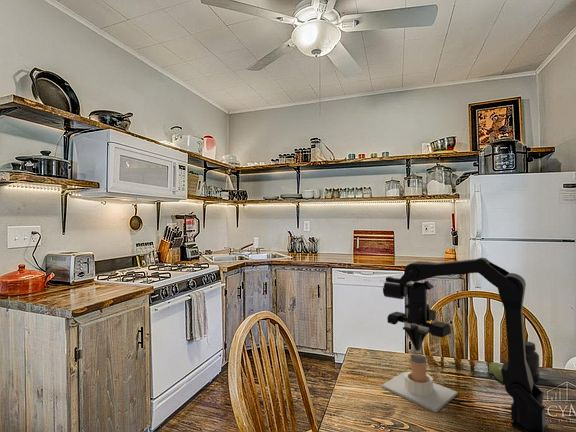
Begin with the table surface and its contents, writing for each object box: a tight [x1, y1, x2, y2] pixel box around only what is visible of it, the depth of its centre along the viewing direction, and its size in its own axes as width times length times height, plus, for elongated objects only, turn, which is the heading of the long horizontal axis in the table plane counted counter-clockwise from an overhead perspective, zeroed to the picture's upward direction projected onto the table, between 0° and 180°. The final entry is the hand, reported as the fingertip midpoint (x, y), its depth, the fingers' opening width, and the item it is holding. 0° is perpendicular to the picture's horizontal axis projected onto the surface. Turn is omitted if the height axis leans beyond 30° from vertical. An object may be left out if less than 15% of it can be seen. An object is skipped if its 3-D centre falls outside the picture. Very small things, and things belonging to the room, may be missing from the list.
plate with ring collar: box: [381, 371, 458, 413], centre depth 103 cm, size 18×14×4 cm
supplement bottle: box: [525, 340, 541, 384], centre depth 110 cm, size 7×7×12 cm
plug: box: [410, 353, 427, 383], centre depth 103 cm, size 4×4×10 cm
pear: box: [488, 362, 503, 383], centre depth 111 cm, size 6×5×10 cm
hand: (417, 350), depth 103 cm, fingers closed
